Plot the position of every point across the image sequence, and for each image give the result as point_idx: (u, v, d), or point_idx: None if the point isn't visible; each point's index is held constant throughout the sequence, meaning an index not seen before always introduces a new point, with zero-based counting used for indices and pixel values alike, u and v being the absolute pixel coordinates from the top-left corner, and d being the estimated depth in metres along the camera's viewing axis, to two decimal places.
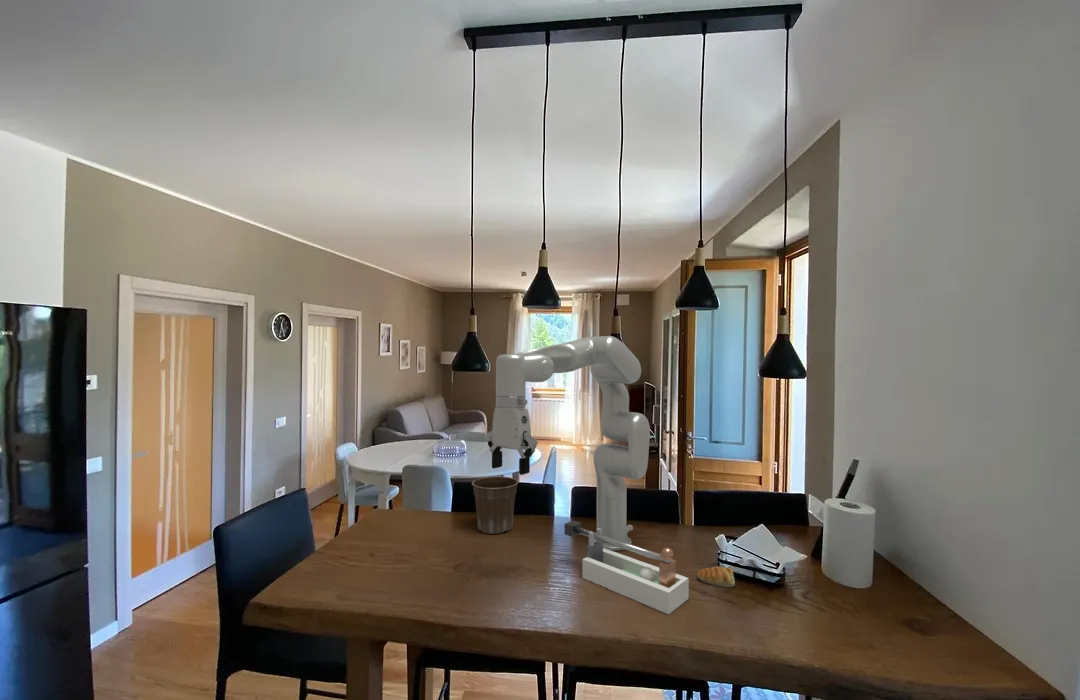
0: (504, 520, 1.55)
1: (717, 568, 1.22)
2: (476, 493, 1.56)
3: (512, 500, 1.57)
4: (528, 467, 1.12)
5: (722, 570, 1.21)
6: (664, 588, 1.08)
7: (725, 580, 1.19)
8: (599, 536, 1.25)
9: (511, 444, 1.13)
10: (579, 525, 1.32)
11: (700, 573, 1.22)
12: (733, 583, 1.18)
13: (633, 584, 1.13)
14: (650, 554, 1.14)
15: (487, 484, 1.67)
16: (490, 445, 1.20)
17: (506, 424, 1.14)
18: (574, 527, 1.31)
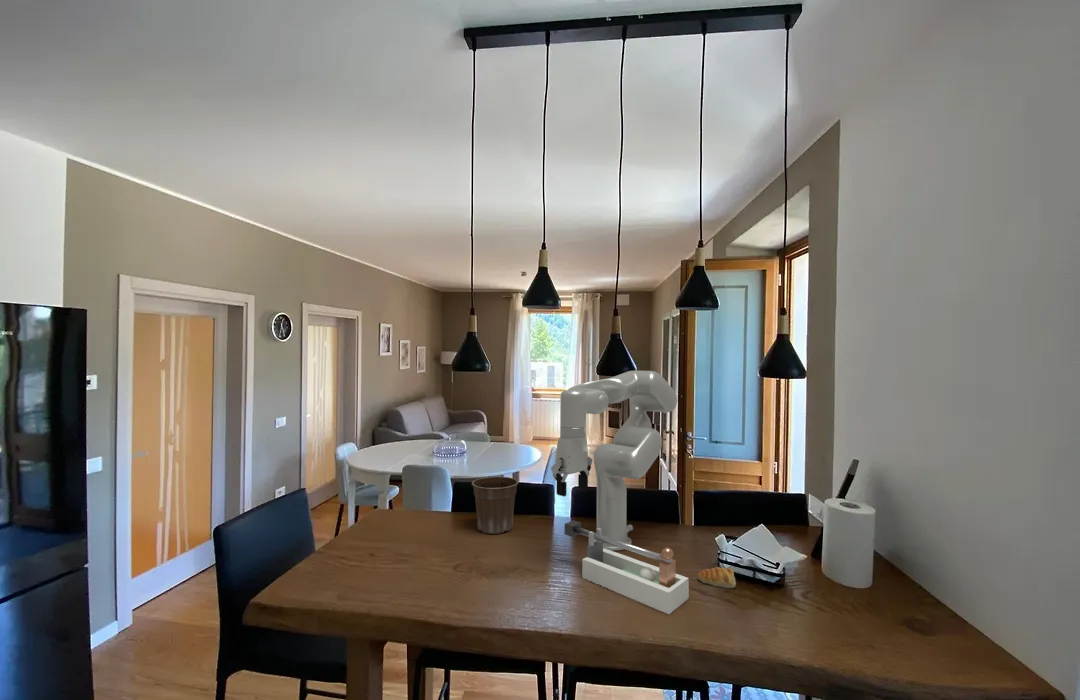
0: (504, 520, 1.55)
1: (718, 569, 1.22)
2: (476, 493, 1.56)
3: (512, 500, 1.57)
4: None
5: (723, 571, 1.21)
6: (664, 588, 1.08)
7: (726, 581, 1.18)
8: (599, 536, 1.25)
9: (583, 467, 1.33)
10: (579, 525, 1.32)
11: (701, 574, 1.22)
12: (734, 584, 1.18)
13: (633, 584, 1.13)
14: (650, 554, 1.14)
15: (487, 484, 1.67)
16: (559, 476, 1.28)
17: (581, 451, 1.32)
18: (574, 527, 1.31)
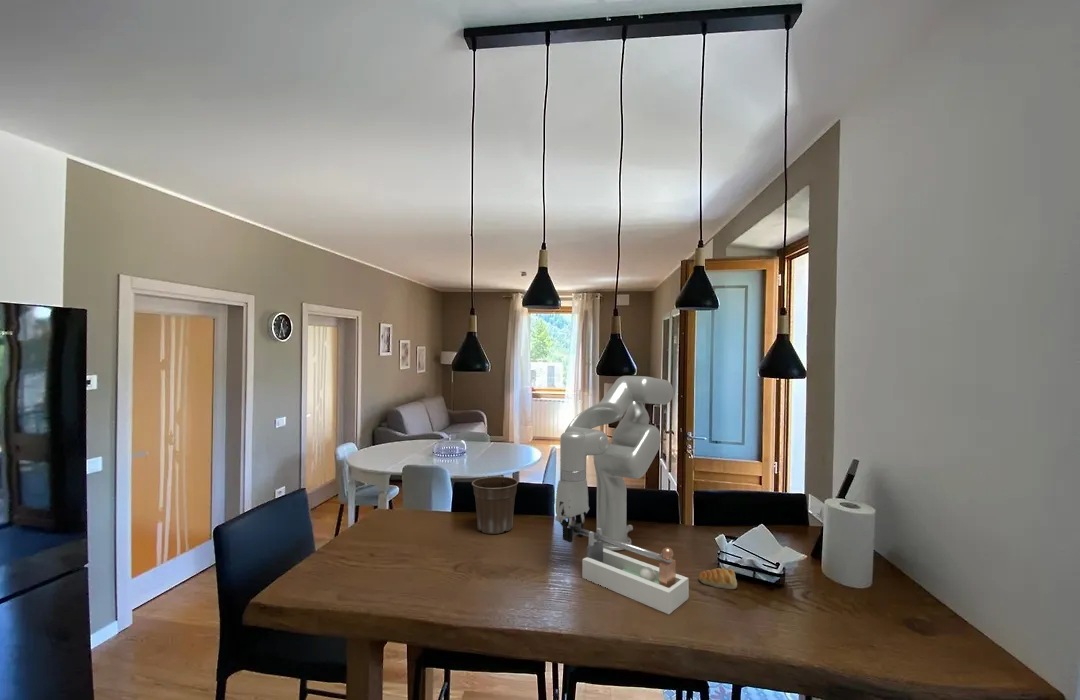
0: (504, 520, 1.55)
1: (719, 570, 1.21)
2: (476, 493, 1.56)
3: (512, 500, 1.57)
4: None
5: (724, 572, 1.20)
6: (664, 588, 1.08)
7: (728, 582, 1.18)
8: (599, 536, 1.25)
9: (583, 509, 1.33)
10: (579, 525, 1.32)
11: (702, 575, 1.21)
12: (735, 585, 1.18)
13: (633, 584, 1.13)
14: (650, 554, 1.14)
15: (487, 484, 1.67)
16: (565, 523, 1.29)
17: (581, 493, 1.32)
18: (574, 527, 1.31)
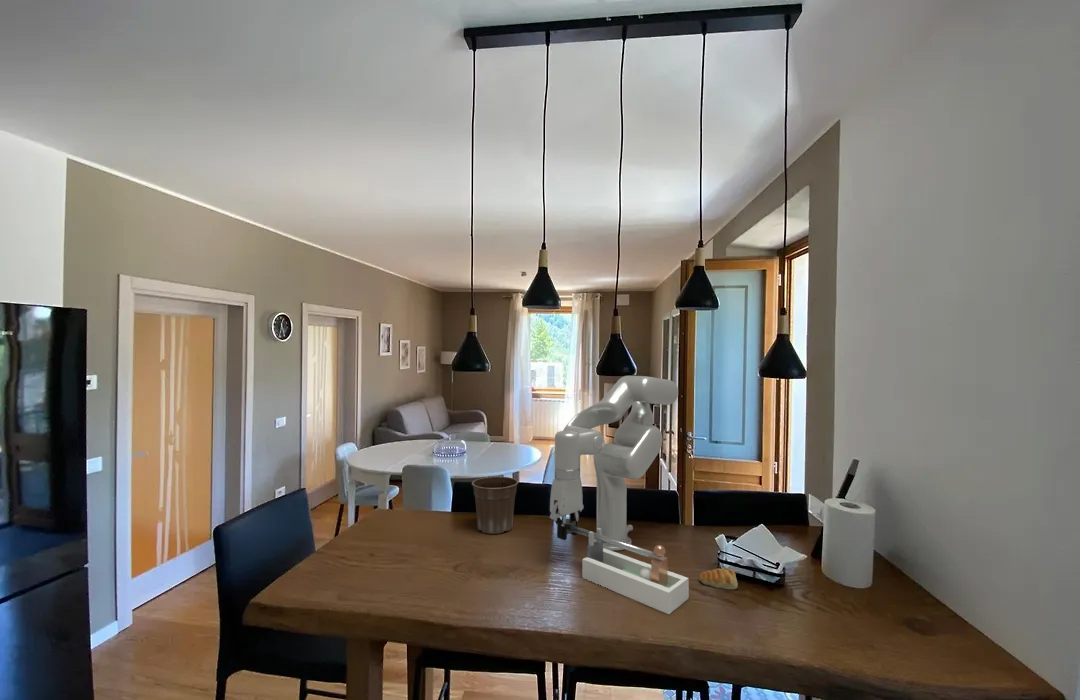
0: (504, 520, 1.55)
1: (719, 570, 1.21)
2: (476, 493, 1.56)
3: (512, 500, 1.57)
4: None
5: (724, 572, 1.20)
6: (664, 588, 1.08)
7: (728, 583, 1.18)
8: None
9: (578, 507, 1.34)
10: (573, 523, 1.34)
11: (702, 576, 1.21)
12: (736, 585, 1.17)
13: (633, 584, 1.13)
14: (642, 551, 1.16)
15: (487, 484, 1.67)
16: (560, 521, 1.31)
17: (576, 492, 1.33)
18: (568, 525, 1.32)
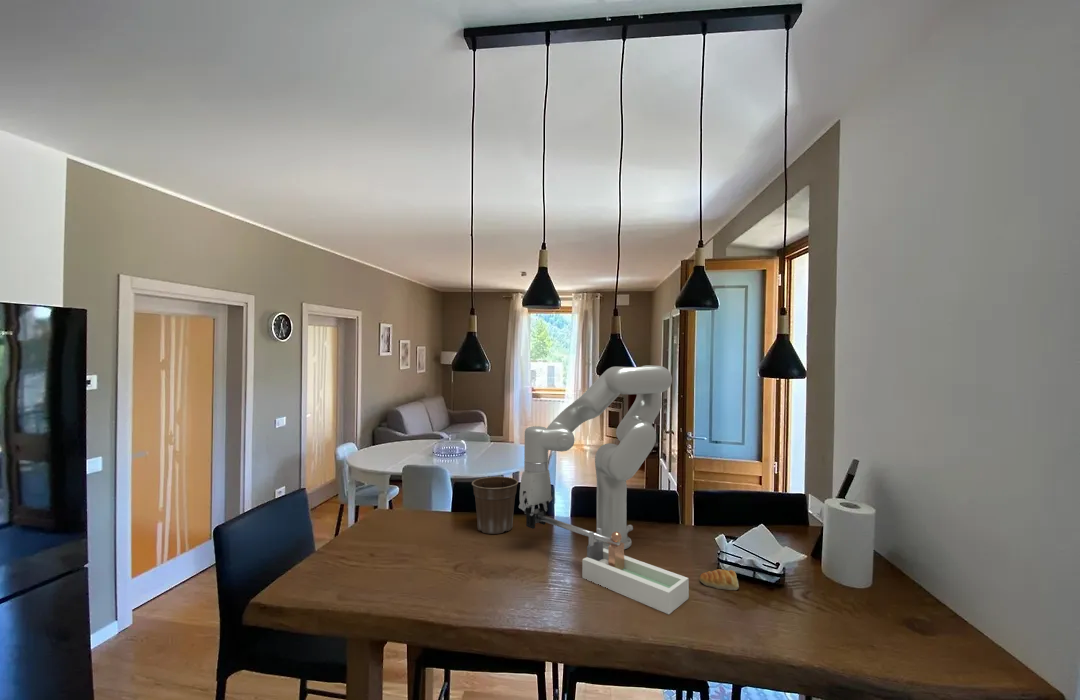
0: (504, 520, 1.55)
1: (720, 571, 1.21)
2: (476, 493, 1.56)
3: (512, 500, 1.57)
4: None
5: (725, 573, 1.20)
6: (664, 588, 1.08)
7: (730, 583, 1.17)
8: (558, 522, 1.36)
9: (546, 498, 1.43)
10: (541, 513, 1.43)
11: (703, 577, 1.20)
12: (737, 586, 1.17)
13: (633, 584, 1.13)
14: (601, 538, 1.25)
15: (487, 484, 1.67)
16: (528, 511, 1.40)
17: (544, 483, 1.42)
18: (537, 515, 1.41)
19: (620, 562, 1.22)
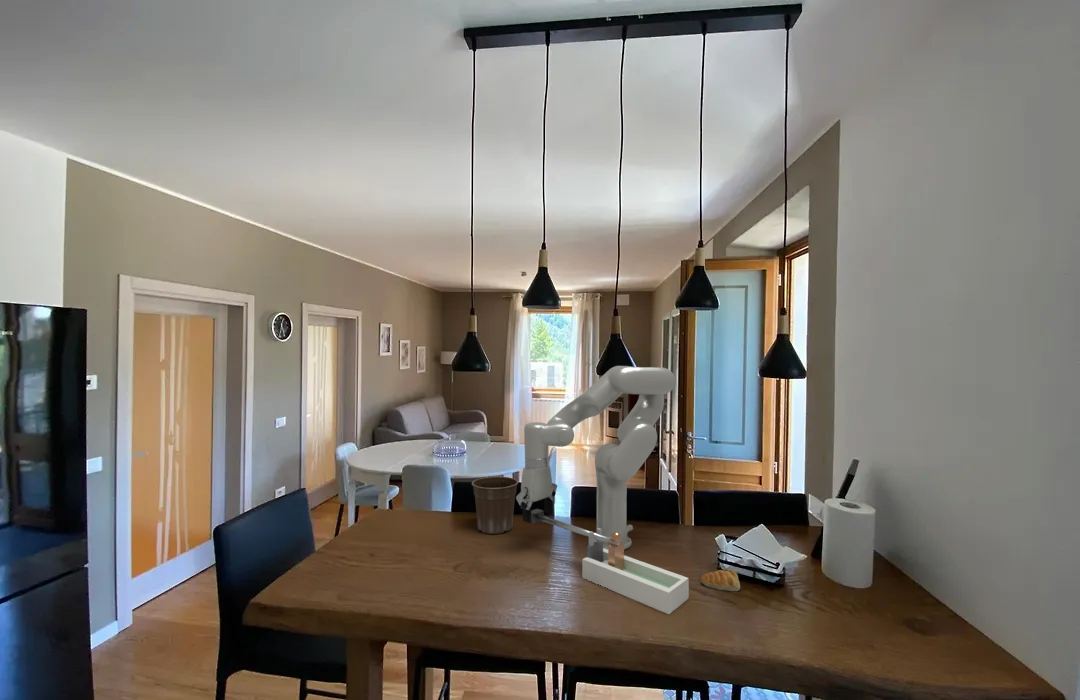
0: (504, 520, 1.55)
1: (721, 572, 1.20)
2: (476, 493, 1.56)
3: (512, 500, 1.57)
4: None
5: (727, 574, 1.19)
6: (664, 588, 1.08)
7: (731, 584, 1.17)
8: (558, 522, 1.36)
9: (547, 494, 1.43)
10: (541, 513, 1.43)
11: (705, 578, 1.20)
12: (739, 587, 1.17)
13: (633, 584, 1.13)
14: (601, 537, 1.25)
15: (487, 484, 1.67)
16: (524, 505, 1.38)
17: (545, 479, 1.42)
18: (536, 515, 1.41)
19: (620, 562, 1.22)
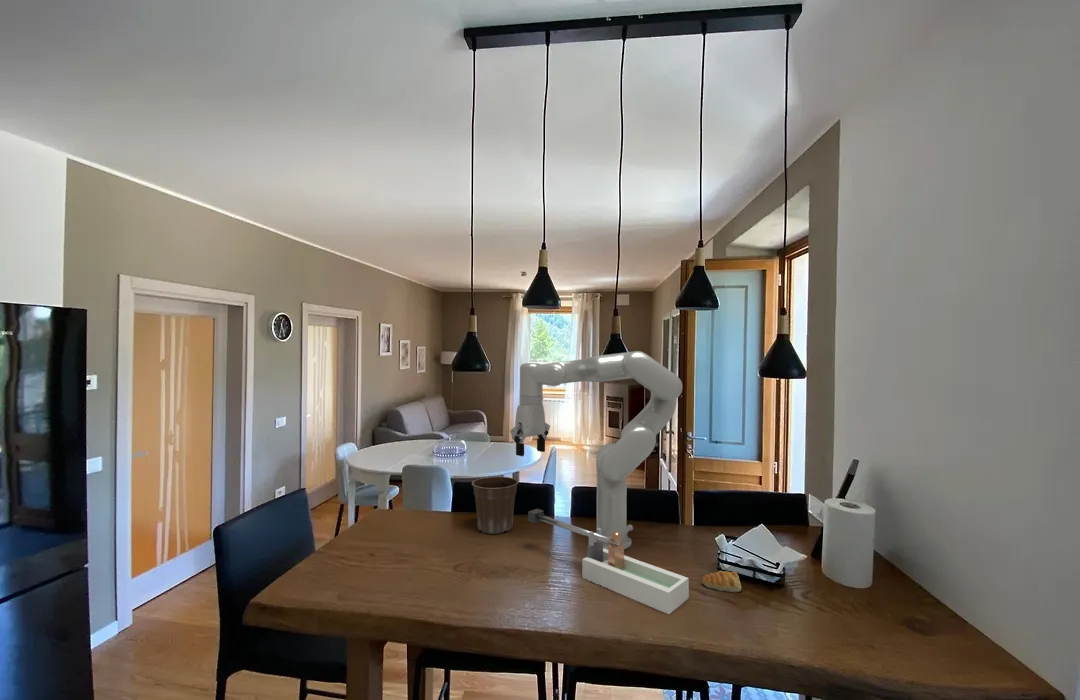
0: (504, 520, 1.55)
1: (722, 573, 1.20)
2: (476, 493, 1.56)
3: (512, 500, 1.57)
4: None
5: (728, 575, 1.19)
6: (664, 588, 1.08)
7: (732, 585, 1.16)
8: (558, 522, 1.36)
9: (540, 431, 1.50)
10: (541, 513, 1.43)
11: (706, 579, 1.19)
12: (740, 587, 1.16)
13: (633, 584, 1.13)
14: (601, 537, 1.25)
15: (487, 484, 1.67)
16: (518, 438, 1.44)
17: (538, 417, 1.49)
18: (536, 515, 1.41)
19: (620, 562, 1.22)
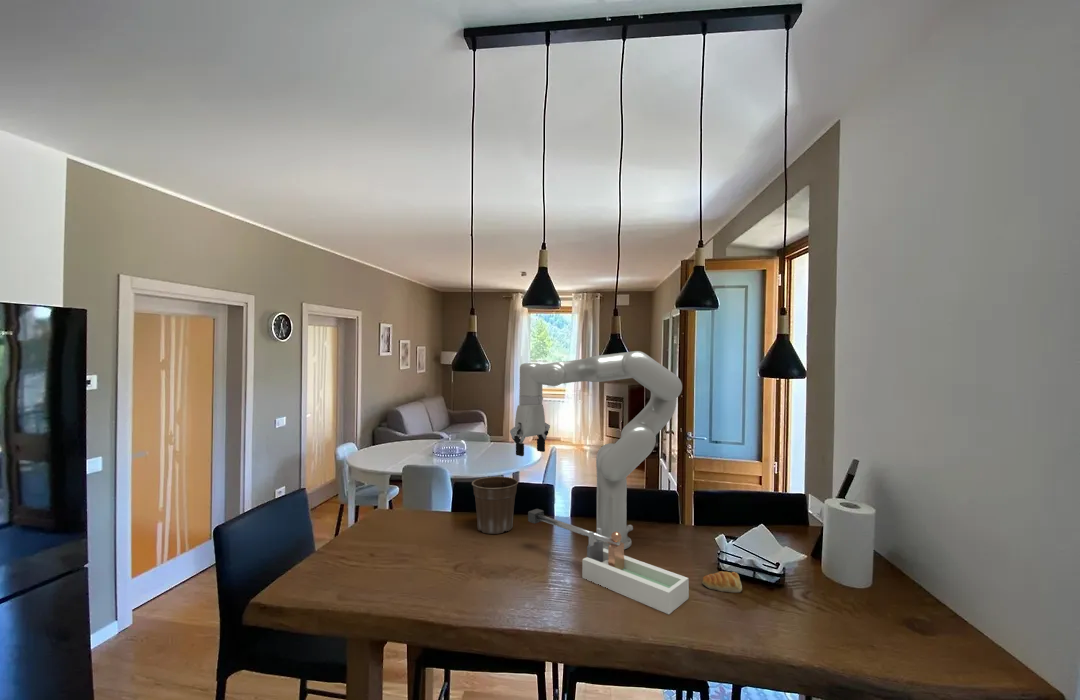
0: (504, 520, 1.55)
1: (723, 573, 1.19)
2: (476, 493, 1.56)
3: (512, 500, 1.57)
4: None
5: (728, 575, 1.18)
6: (664, 588, 1.08)
7: (733, 586, 1.16)
8: (558, 522, 1.36)
9: (540, 431, 1.50)
10: (541, 513, 1.43)
11: (706, 580, 1.19)
12: (741, 588, 1.16)
13: (633, 584, 1.13)
14: (601, 537, 1.25)
15: (487, 484, 1.67)
16: (517, 438, 1.44)
17: (538, 417, 1.49)
18: (536, 515, 1.41)
19: (620, 562, 1.22)
